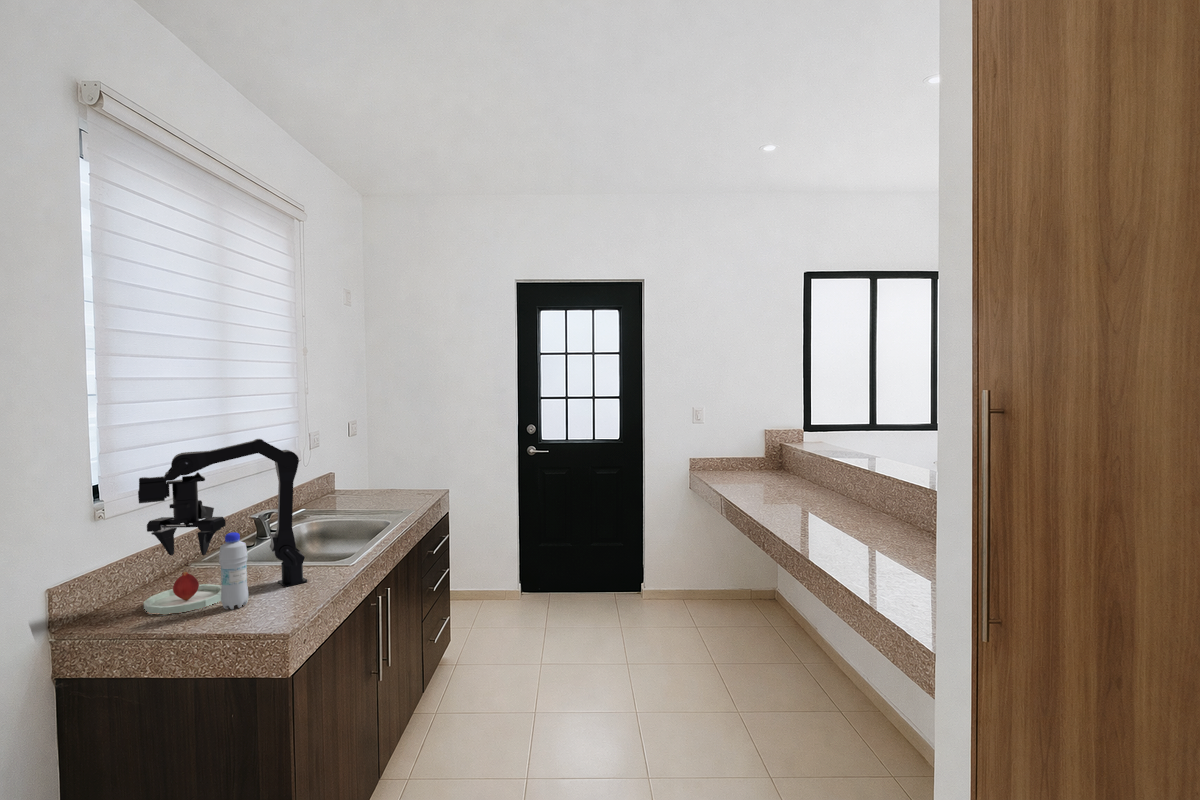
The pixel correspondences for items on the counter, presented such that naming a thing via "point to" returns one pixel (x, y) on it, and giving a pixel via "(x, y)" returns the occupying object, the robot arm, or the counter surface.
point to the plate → (173, 604)
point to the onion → (185, 586)
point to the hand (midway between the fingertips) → (187, 555)
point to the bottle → (233, 571)
